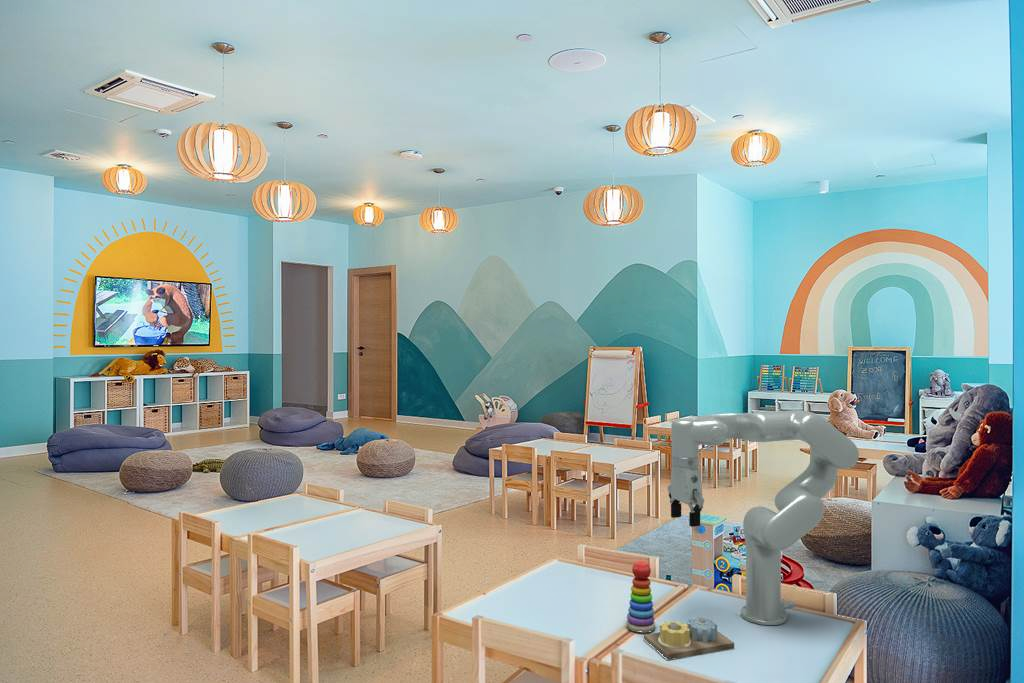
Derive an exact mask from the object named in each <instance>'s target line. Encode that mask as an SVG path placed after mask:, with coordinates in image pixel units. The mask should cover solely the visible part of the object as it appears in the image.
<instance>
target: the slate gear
mask: <svg viewBox="0 0 1024 683" xmlns="http://www.w3.org/2000/svg"><path fill="white" fill-rule="evenodd" d="M699 618H702V617H697V618H690V619H688V621H687V625H688V626H689V629H690V637H691V638H692V640H694V641H701V642H703V643H707V642H709V641H713V642H714V641H716V638H717V631H718V623H717V622H713V620H712V619H710V618H705V619H706V623H699V622H698V619H699Z"/></svg>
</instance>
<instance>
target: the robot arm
mask: <svg viewBox="0 0 1024 683" xmlns="http://www.w3.org/2000/svg"><path fill="white" fill-rule="evenodd" d="M670 427H671V428H670V429H671V430H670V432H671V437H670V438H671V472H670V484H669V485H668V486H667V491H668V498H669V499H670V500H669V503H670V518H672V519H677V518H681V517H682V503H683V504H686V505H688V508H689V527H691V528H693V527H700V526H701V513H702V511H703V510H702V509H703V506H704V503H705V498H704V497H703V485H702V476H701V470H700V468H699V465H700V464H699V445H701V446H710V447H711V446H712V447H716V446H721V445H723V444H724V443H726V441H727V440H728V439H733V440H734V439H735V440H737V439H738V440H743V441H748V442H754V443H770V442H780V441H781V442H782V441H795V440H796V441H801V442H805V443H807V445H809V446H810V450H809V452H810V460H809V464H808V466H807V467H806V469H805V470H803V472H801V473H800V474H799V475H798V476H796V477H795V478H794V479H793V480H792V481H790V482H789V483H788V484H786V485H785V486H784V487H783V488H781V489H780V490H779V491H778V492H777V494H776V495H775V497H774V505H775V507H776V509H777V510H778V511H777V512H776V511H774V510H772V509H771V508H768V507H766V506H761V505H760V506H759V505H758V506H754V507H751V508H750V509H749V510H748V511H747V512H746V513H745V515H744V516H743V521H742V522H743V523H742V524H743V536H744V541H745V542H744V544H745V605H744V606H742V607H741V608H740V615H741V617H742V618H743V619H744V620H746V621H748V622H751V623H752V624H753V623H754V624H757V625H761V626H762V625H764V626H779V625H783V624H784V623H785V622H787V618H788V616H787V613H786V612H785V611H786V610H787V609H793V608H794V609H795V607H796V604H795V602H794V601H793V600H789V601H785V599H783V598H782V584H781V583H782V569H781V568H782V555H781V554H782V553H781V552H782V551H783V550H786V549H788V548H790V547H791V546H793V545H795V543H797V542H798V541H799V540H800V539H802V538H803V537H804V536H806V535H807V534H808V533H810V531H812V530H813V529H814V528H815V527H816V526H818V525H819V524H820V522H821V520H822V519H823V516H824V514H825V505H824V502H823V501H822V499H823V498H824V497H825V496H826V495H827V494H828V493H830V491H831V490H832V489H833V487H834V486H835V485H836V481H837V478H838V469H839V470H846V469H851V468H852V467H854V466H856V464H857V463H858V460H859V457H860V452H859V449H858V447H857V445H856V444H855V443H854V441H852V440H851V439H850V438H849V437H847V436H846V435H845V434H844V433H843V432H842V431H840V430H839V429H838V428H836V427H835V426H834V425H833V424H832V423H831V422H829V421H828V420H827V419H825V418H824V417H822V415H819V414H817V413H815V412H810V411H806V410H802V409H793V410H792V409H791V410H779V411H765V412H764V411H763V412H742V413H717V414H704V415H703V414H702V415H701V416H698V417H696V418H695V419H692V418H677V419H674V420H672V422H671V426H670Z"/></svg>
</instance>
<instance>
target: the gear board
mask: <svg viewBox="0 0 1024 683" xmlns="http://www.w3.org/2000/svg"><path fill="white" fill-rule="evenodd" d="M706 619H707V618H705V617H701V618H699V619H698V622H699V623H706ZM670 629H672V630H678V624H677V623H670ZM644 639H645V640H646V641H647V642H648V643H649V644H651V645H652V646H653V647H654V648H655V649H656V650H658V651H659V652H660V653H661V654H663V656H664V657H666V658H667V659H673V658H678V659H684V658H688V657H694V656H701V655H705V654H711V653H712V654H713V653H716V652H722V651H728V650H733V649H735V641H732V639H730V638H728V637H727V636H725V635H724V634H722V633H721V632H719V631H718V630H717V638H716V641H714V642H713V641H709V642H707V643H703V642H701V641H694V640H692V638H691V637H690V643H689V644H685V646H683V647H680V646H674V647H672V646H669V644H666V643H662V642H661V639H660V631H658V632H651V633H645V634H643V640H644ZM649 644H648V645H649ZM664 657H663V658H664ZM673 660H674V659H673Z"/></svg>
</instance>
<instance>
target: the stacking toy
mask: <svg viewBox="0 0 1024 683" xmlns="http://www.w3.org/2000/svg"><path fill="white" fill-rule="evenodd" d="M631 571H632V574H633V576H634V578H633V579H632V586H631V587H630V591H631V593H630V596H629V597H630V600H629V607H628V612H627V615H626V618H627V621H626V627H627V628H628V629H629V630H630V631H632V632H634V631H642V632H649V631H651V632H653V631H654V630H656V623H655V617H654V616H655V615H654V613H655V609H654V607H653V606H654V603H653V601H652V599H653V594H652V588H651V587H650V585H651V580H650V578H649V577H650V575H651V571H652V569H651V566H650V564H649V563H648V562H646V561H643V560H638V561H636V562H634V564H633V565H632V570H631ZM649 633H650V632H649Z"/></svg>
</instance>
